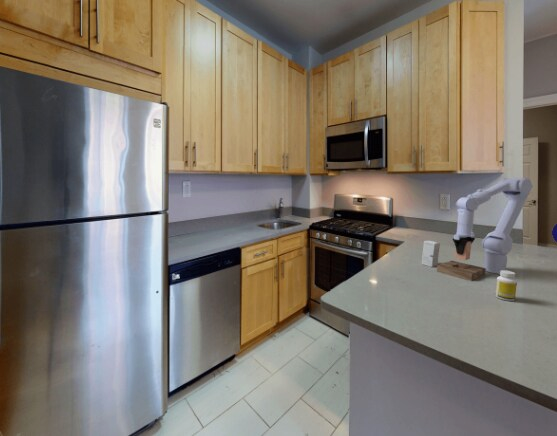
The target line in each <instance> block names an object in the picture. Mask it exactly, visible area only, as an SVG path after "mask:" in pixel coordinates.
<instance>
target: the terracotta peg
mask: <svg viewBox="0 0 557 436" xmlns="http://www.w3.org/2000/svg"><path fill="white" fill-rule="evenodd" d="M454 246H455V245H454ZM454 248H455V250H454V259H458V260H462V261H468V260H470V259H471V249H472V244H471V242H470V241H468V242H467V243H466V245H465V249H464V253H463V254H462V255H461V254H457V251H456V246H455V247H454Z"/></svg>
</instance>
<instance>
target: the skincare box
mask: <svg viewBox="0 0 557 436" xmlns="http://www.w3.org/2000/svg"><path fill="white" fill-rule="evenodd" d="M422 246H423V248H422V256H421V265H425V266H427V267H430V268H431V267H432V268H435V267H437V265H439V264H438V263H439V255H440V254H439V253H440V248H441V247H440V246H441V243H440V242H437V241H434V240H424V241H423V245H422Z"/></svg>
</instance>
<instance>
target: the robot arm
mask: <svg viewBox="0 0 557 436" xmlns="http://www.w3.org/2000/svg"><path fill="white" fill-rule="evenodd" d="M533 186H534V185H533V183H532V181H531V179H530V178H528V177H523V178H521V177H519V178H517V177H516V178H508V177H505V178H503V179H500V180H499V181H498V182H497V183H496V184H493V185H492V186H491V187H489V188H487V189H482V188H481V189H480V188H478V189H477V190H476V191H475V192H473V193H471V194H467V196H466V197H465V196H462V197H460V198H459V199H458V200H457V201H456V202H455V207H456V209H457V215H458V216H457V225H456V233H455V234H454V235H453V237H452V241H453V243H454V246H456V251H457V254H461V255H462V254H463V253H464V249H465V245H466V243H467V242H468V241H470V242H471V245H472V244H473V243H474V241H475V240H476V238H475V237H476V234H475V233H474V231H473V230H474V219H475V217H474V216H475V211H477V210H478V208H479V206H480V205H482V204H485V203H487V202H489V201H490V200H491V197H493V196H496V195H497V194H500V193H503V195H504V196H505V198H507V199H508V203H507V204H506V206H505V209H504V210H503V213H502V214H501V216H500V219H499V221H498V223H497V225H496V227H495V229H494V230H493V231H491V232H488V233H487V234H486V236H485V237H484V238H483V239H482V241H481V247H482V248H483V249H484V252H485V253H484V254H485V255H484V265H483V268H486V273H487V272H489V273H492V274H497V275H500V271H501V270H506V271H510V270H509V269H507V266H508V256H507V255H508V254H509V253H510V252H511V251H512V248H513V243H514V239H513V238H512V236H511V235H510V234H511V232H512V230H513V228H514V226H515V224H516V222H517V220H518V218H519V215H520V214H521V212H522V210H523V208H524V205H525V204H526V201H527V198H528V197H529V196H530V193H531V190H532V189H533Z"/></svg>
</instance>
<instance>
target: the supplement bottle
mask: <svg viewBox="0 0 557 436" xmlns="http://www.w3.org/2000/svg"><path fill="white" fill-rule="evenodd" d="M506 270H507V269H506ZM506 270H501V271H500V274H499V275H500V276H497V278H496V285H495V293H494V296H495V297H496V298H498V299H500V300H502V301H506V302H508V301H509V302H514V301H515V299H516V294H517V285H518V280H517V279H516V273H515V272H514V271H510V270H509V271H506Z"/></svg>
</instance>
